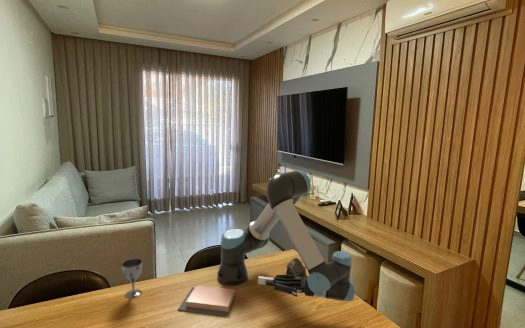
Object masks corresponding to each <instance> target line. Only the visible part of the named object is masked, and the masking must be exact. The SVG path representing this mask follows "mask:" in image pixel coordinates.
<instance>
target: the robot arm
mask: <svg viewBox="0 0 525 328" xmlns="http://www.w3.org/2000/svg"><path fill="white" fill-rule="evenodd" d="M311 189H312V184H311V179H310V177H309V175H308V174H307V173H306V172H304V171H302V170H292V171H288V172H283V173H282V172H281V173H278V174H274V175H273V176H271V178H270V179H269V180H268V182H267V185H266V198H267V201H268V203H267V205H266V206H265V208H264V209H263V210H262V212H261V213H260V215H258V217H257V219H256V220H253V221H251V222H250V223H249V225H248V226H247V227H246V228H245V229H241V228H231V229H228V230H226V231H224V232H223V233H222V234H221V239H220V240H221V241H220V264H219V267H218V270H217V277H216V278H217V281H218V282H219V283H222V284H223V285H227V286H235V285H236V286H237V285H240V284H242V283H244V282H246V281H247V279H248V274H249V273H248V269H247V266H246V263H245V255H247V254H249V253H251V252H254V251H256V250H259V249H262V248H264V247H265V246H266V245H267V244H268V243H269V242H270V231H271V230H272V229H273V227H275V225H276V224H277V222H278V221H279V220H280V222H281V223H282V226H283V228H284V229H285V232H286V233H287V235H288V237H289V239H290V241H291V243H292V244H293V246H294V248H295V250H296V251H297V254H298V256H299V257H300V259H301V262H302V264H303V266H304V267H305V269H306V272H307V273H308V276H307V275H305V278H299V277H298V274H294V275H286V274H276V276H274V277H270V276H261V275H258V278H257V284H258V285H264V286H272V287H273V289H274V290H275V291H278V292H282V293H284V294H285V293H286V294H289V295H292V296H293V297H295V298H297V297H298V294H304V295H305V296H306V297H310V298H313V297H315V298H320V299H321V298H323V299H327V300H329V299H330V300H334V301H341V302H352V301H354V299H355V292H356V291H355V284H354V282H352V281H351V279H350V278H351V270H352V266H353V264H352V256H351V255H350V253H348V252H346V251H341V250H340V251H339V250H338V251H335V252H333V253H332V256H331V261H330V262H328V263H327V262H326V261H325V259H324V258H323V256H322V254H321V252H320V250H319V248H318V247H317V245H316V243H315V242H314V240H313V238H312V236H311V234H310V232H309V231H308V228H307V227H306V224H305V223H304V222H303V220H302V218H301V216H300V214H299V212H298V211H297V209H296V208H295V206H294V205H295V204H296V203H297V202H299V200H300V199H301V198H302V196H303V197H304V196H306V195H308V194H309V193H310V192H311Z"/></svg>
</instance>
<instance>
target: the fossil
mask: <svg viewBox="0 0 525 328" xmlns="http://www.w3.org/2000/svg"><path fill="white" fill-rule="evenodd" d="M294 274H298V277H299V278H303V279H305V277H306V276H307V269H306V267H305V265H304V263H303V261H302V260H300V259H299V258H298V257H293V258H291V259H290V260H289V262H288V263H287V264H286V273H285V275H294Z"/></svg>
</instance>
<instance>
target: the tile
mask: <svg viewBox="0 0 525 328" xmlns="http://www.w3.org/2000/svg"><path fill="white" fill-rule="evenodd" d="M194 287H195V288H194V290H193V291H192V293H191V294H190V296H189V298H188V299H187V301H186V307H193V308H201V309H209V310H217V311H225V312H226V313H228V312H229V310H230V308H231V305H232V302H233V300H234V297H235V294H236V290H235V289H232V288H223V287H216V286H215V287H214V286H207V285H199V284H198V285H195V286H194Z"/></svg>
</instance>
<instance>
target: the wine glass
mask: <svg viewBox="0 0 525 328" xmlns="http://www.w3.org/2000/svg"><path fill="white" fill-rule="evenodd" d="M121 269H122V273H123V276H124V278H125V279H127V280H129V282H130V283H131V288H132V289H131V290H129V291H128V290H127V292H125V294H124V297H125V298H126V299H129V300H132V299H136V298H138V297H140V296H141V295H142V294H143V290H141V289H139V288H135V282H136V280H137V279H138V278H139V277H140V276H141V273H142V270H143V261H142V259H141V258H129V259H126V260H124V261H123V262H122V264H121Z"/></svg>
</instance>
